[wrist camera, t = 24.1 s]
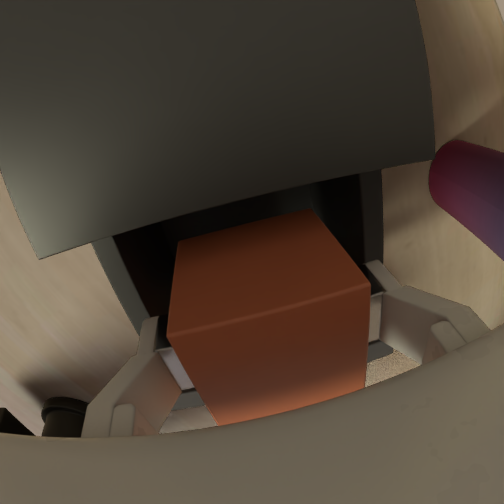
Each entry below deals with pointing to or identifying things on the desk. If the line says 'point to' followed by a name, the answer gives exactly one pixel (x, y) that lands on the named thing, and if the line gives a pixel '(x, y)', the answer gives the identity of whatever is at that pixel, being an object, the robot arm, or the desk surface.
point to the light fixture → (51, 419)
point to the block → (269, 317)
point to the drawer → (234, 214)
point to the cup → (471, 189)
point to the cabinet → (198, 105)
